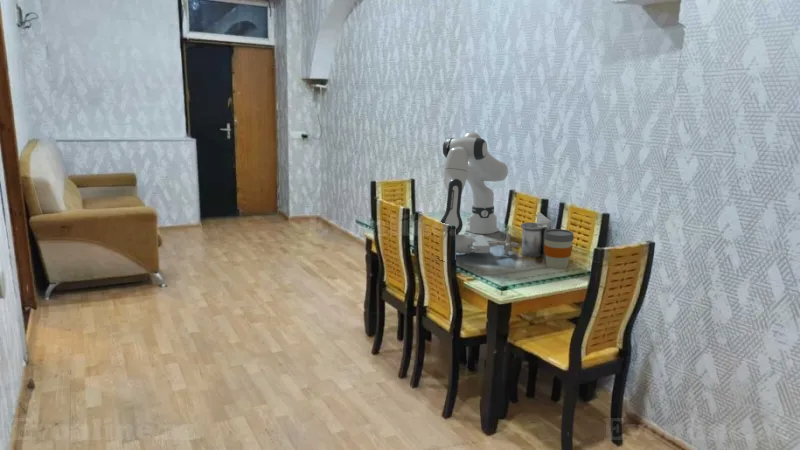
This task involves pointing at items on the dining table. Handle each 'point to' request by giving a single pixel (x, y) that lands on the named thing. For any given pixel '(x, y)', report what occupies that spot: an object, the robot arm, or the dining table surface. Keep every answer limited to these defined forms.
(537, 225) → the duct stub
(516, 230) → the dining table surface
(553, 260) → the reusable coffee cup
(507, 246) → the pipe connector
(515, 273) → the dining table surface
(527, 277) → the dining table surface
